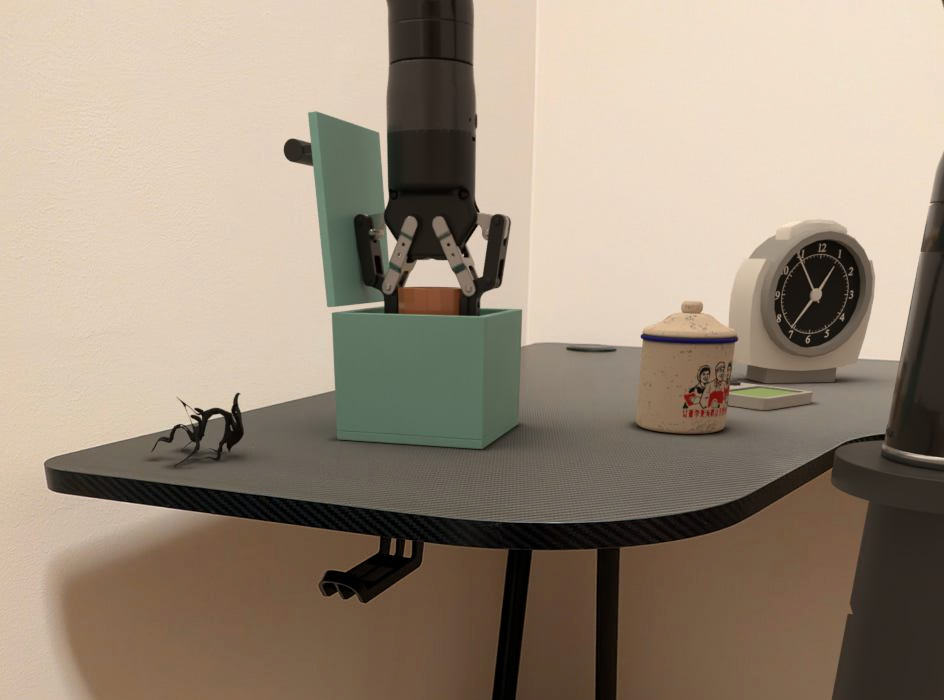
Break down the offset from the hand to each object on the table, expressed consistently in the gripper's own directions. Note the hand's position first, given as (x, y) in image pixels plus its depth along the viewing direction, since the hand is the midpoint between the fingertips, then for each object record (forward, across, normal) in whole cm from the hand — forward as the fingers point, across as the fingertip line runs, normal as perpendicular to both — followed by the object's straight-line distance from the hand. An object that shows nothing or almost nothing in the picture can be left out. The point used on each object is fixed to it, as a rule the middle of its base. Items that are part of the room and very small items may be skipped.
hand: (432, 338), depth 83 cm
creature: (+9, -14, -18) cm, 24 cm away
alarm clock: (+9, +34, +55) cm, 65 cm away
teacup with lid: (+9, +23, +12) cm, 27 cm away
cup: (+4, 0, 0) cm, 4 cm away
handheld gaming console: (+9, +27, +33) cm, 43 cm away
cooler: (+8, 0, 0) cm, 8 cm away
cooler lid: (-10, -7, 0) cm, 12 cm away
